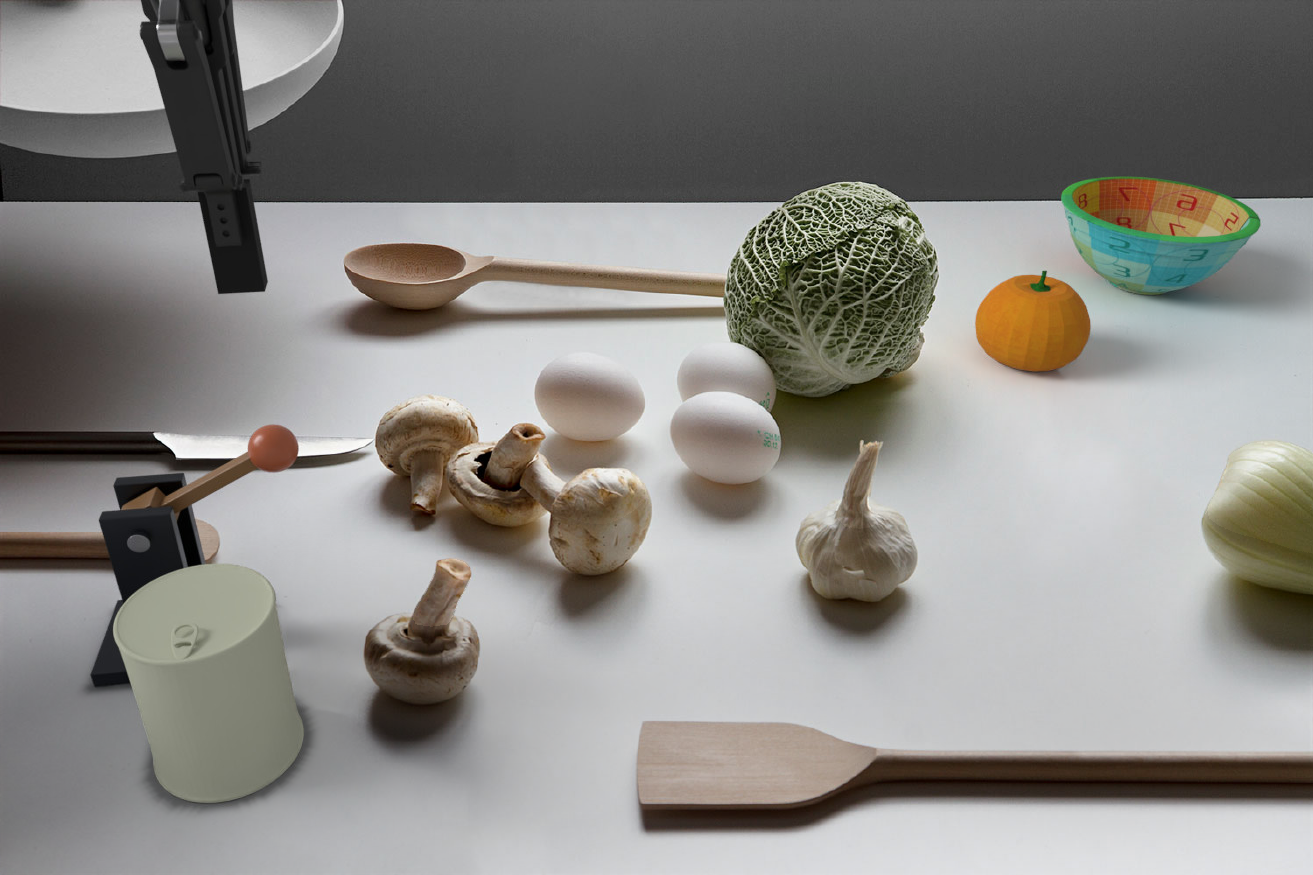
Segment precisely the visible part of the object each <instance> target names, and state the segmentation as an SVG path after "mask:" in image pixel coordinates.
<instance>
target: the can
mask: <svg viewBox="0 0 1313 875" xmlns="http://www.w3.org/2000/svg"><path fill="white" fill-rule="evenodd" d="M113 634H114V638H115V641H116V643H117V645H118V647H119V650H120V653H121V655H122V658H123V661H124V664H125V667H126V670H127V673H128V676H129V680H130V683H131V684H130V686H131V689H132V692H133V695H134V698H135V702H136V704H137V707H138V711H139V714H140V718H141V721H142V725H143V727H144V731H145V734H146V738H147V741H148V744H149V748H150V751H151V755H152V761H153V762H152V765H153V766H152V767H153V771H154V774H155V775H154V776H155V777H156V779H157V781H158V783H159V784H160V785H161V787H162V788H163V789H164V790H165V791H167V792H168V793H169V794H171V795H173V796H174V797H177V798H178V799H182V800H185V801H188V802H191V803H199V804H200V803H201V804H215V803H217V804H218V803H223V802H229V801H234V800H237V799H240V798H244V797H246V796H249V795H251V794H254V793H256V792H258V791H260V790H262V789H264V788H266V787H267V786H269V785H270V784H272V783H273V782H275V781H276V780H277V779H278V778H280V777H281V776H282V775H283V774H284V773H285V772H286V771H287V770H288V769H289V768H290V767H291V765H293V763H294V762H295V761H296V759H297V757H298V756H299V753H300V751H301V749H302V746H303V742H304V737H305V736H304V735H305V728H304V727H305V726H304V723H303V720H302V717H301V715H300V713H299V711H298V706H297V702H296V699H295V694H294V689H293V685H292V679H291V675H290V670H289V664H288V661H287V660H288V659H287V655H286V650H285V646H284V641H283V636H282V630H281V625H280V618H279V613H278V609H277V596H276V592H275V589H274V586H273V584H271V582H270V581H269V580H268V579H267V577H266V576H264V575H263V574H261V573H260V572H258V571H257V570H254V569H252V568H249V567H246V566H243V565H238V564H232V563H206V564H205V565H197V566H192V567H187V568H184V569H180V570H177V571H174V572H171V573H168V574H166V575H163V576H161V577H159V578H157V579H155V580H153V581H151V582H149V583H148V584H146V585H145V586H143V587H142V588H140V589H139V590H138V591H136V592H135V593H134V594H133V595H132V596H130V597H129V598H128V599H127V601H126V602H125V603H124V604H123V605H122V607H121V608H120V610H119V611H118V613H117V615H116V618H115V621H114V626H113Z"/></svg>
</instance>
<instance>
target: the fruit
mask: <svg viewBox="0 0 1313 875" xmlns="http://www.w3.org/2000/svg"><path fill="white" fill-rule="evenodd" d="M1047 273H1048V270H1042V271H1041V275H1039V274H1021V275H1015V276H1012V277H1010V278H1008V279H1006V280H1004V281H1002V282H1000V283H999V284H997V285H996V286H994V287H993V288H992V289H991V290H990V291H989V292H988V293H987V294H986V295H985V297H984V298H983V299H982V301H981V302H980V304H979V306H978V308H977V310H976V314H975V321H974V325H975V336H976V339H977V342H978V344H979V345H980V347H981V348H982V349H983V351H984V353H986V355H988V356H989V357H990V358H992V359H993V360H995V361H996V362H998V363H999V364H1002V365H1004V366H1006V367H1009V368H1012V369H1016V370H1020V371H1026V372H1049V371H1054V370H1058V369H1062V368H1064V367H1066V366H1067V365H1069V364H1071V363H1073V362H1074V361H1076V360H1077V359H1078V358H1079V357H1080V355H1081V354H1082V353H1083V350H1084V349H1085V347H1086V345H1087V344H1088V341H1089V338H1090V336H1091V329H1092V326H1091V317H1090V314H1089V311H1088V307H1087V305H1086V303H1085V301H1084V300H1083V298H1082V297H1081V295H1080V294H1079V293H1078V292H1077V291H1076V290H1075V288H1073V287H1072V286H1071V285H1070V284H1068V282H1067V283H1066V282H1065V281H1063V280H1060V279H1057V278H1054V277H1050V276H1047Z"/></svg>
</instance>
